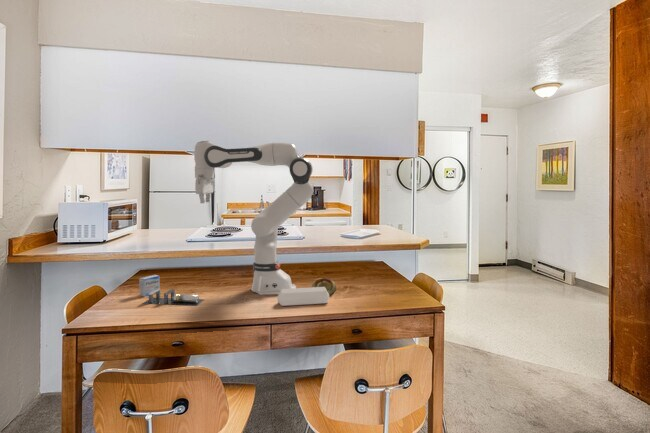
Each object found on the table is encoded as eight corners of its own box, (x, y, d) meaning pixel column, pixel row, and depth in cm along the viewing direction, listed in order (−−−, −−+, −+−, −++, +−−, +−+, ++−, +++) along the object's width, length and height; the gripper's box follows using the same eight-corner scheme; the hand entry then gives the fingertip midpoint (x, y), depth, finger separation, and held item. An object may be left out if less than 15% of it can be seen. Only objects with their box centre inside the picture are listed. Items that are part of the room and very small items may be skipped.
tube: (199, 301, 162) (199, 293, 162) (196, 303, 159) (195, 296, 158) (175, 300, 163) (175, 293, 162) (172, 302, 159) (171, 295, 159)
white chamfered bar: (278, 300, 155) (332, 297, 160) (276, 287, 160) (329, 285, 165) (277, 311, 159) (330, 308, 164) (276, 299, 164) (327, 296, 170)
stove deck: (204, 300, 164) (204, 289, 164) (196, 306, 156) (196, 295, 155) (152, 298, 166) (152, 287, 166) (141, 304, 158) (141, 293, 157)
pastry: (316, 297, 171) (316, 281, 170) (306, 290, 182) (306, 275, 181) (342, 294, 177) (343, 278, 176) (331, 287, 188) (331, 272, 187)
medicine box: (145, 297, 168) (144, 279, 167) (139, 295, 170) (138, 277, 169) (160, 293, 174) (159, 275, 174) (154, 291, 177) (154, 274, 176)
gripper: (205, 174, 166) (206, 204, 167) (215, 175, 186) (216, 201, 188) (191, 174, 166) (192, 204, 167) (203, 175, 186) (204, 201, 187)
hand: (205, 202), depth 178 cm, fingers open, 8 cm apart
